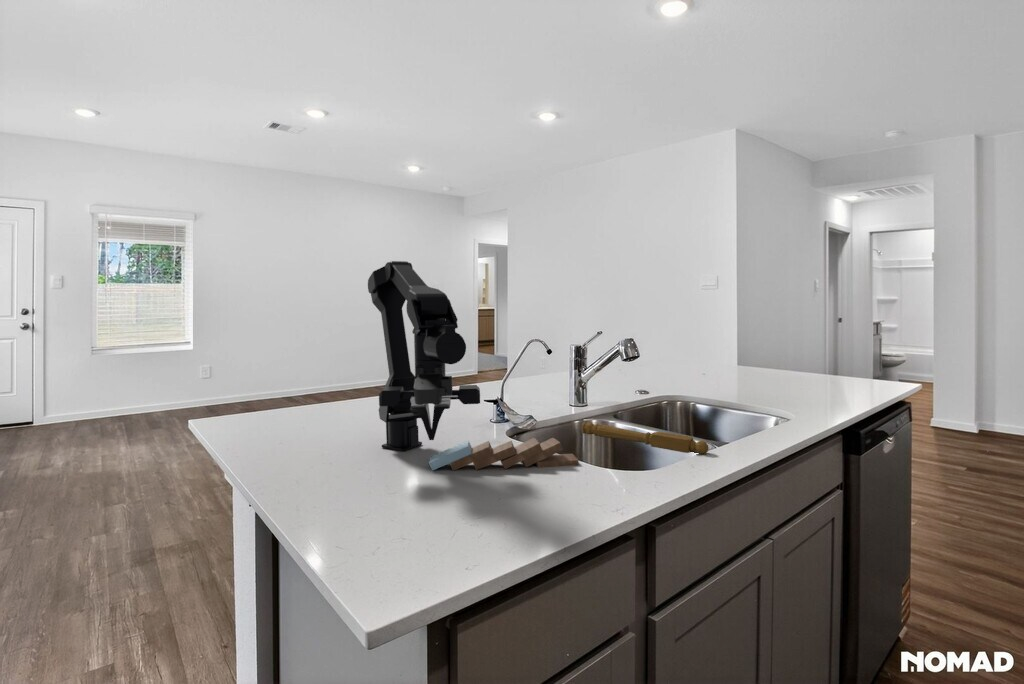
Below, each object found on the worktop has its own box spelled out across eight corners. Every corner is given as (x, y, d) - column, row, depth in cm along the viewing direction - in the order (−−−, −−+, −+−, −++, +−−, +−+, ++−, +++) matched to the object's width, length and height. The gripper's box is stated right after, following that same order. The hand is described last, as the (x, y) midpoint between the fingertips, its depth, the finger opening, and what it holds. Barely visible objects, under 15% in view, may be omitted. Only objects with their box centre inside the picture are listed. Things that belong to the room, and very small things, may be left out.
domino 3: (472, 462, 106) (512, 446, 106) (473, 455, 111) (511, 440, 110) (476, 470, 106) (515, 454, 106) (476, 463, 111) (514, 447, 111)
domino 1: (428, 463, 106) (467, 446, 106) (431, 456, 110) (468, 440, 110) (432, 470, 106) (471, 453, 106) (434, 463, 110) (471, 447, 110)
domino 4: (501, 461, 106) (539, 443, 107) (497, 455, 110) (534, 437, 112) (505, 469, 106) (542, 450, 107) (501, 462, 111) (537, 444, 112)
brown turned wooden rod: (587, 420, 135) (710, 439, 116) (587, 432, 136) (710, 454, 116) (580, 422, 133) (705, 442, 114) (580, 435, 133) (704, 457, 114)
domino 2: (449, 463, 106) (488, 446, 106) (451, 456, 110) (488, 440, 110) (453, 470, 106) (492, 454, 106) (454, 463, 110) (491, 448, 111)
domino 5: (523, 459, 107) (560, 442, 109) (517, 454, 111) (553, 437, 113) (526, 467, 107) (563, 449, 109) (520, 461, 112) (555, 444, 113)
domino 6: (537, 462, 108) (578, 460, 109) (533, 455, 112) (572, 453, 113) (537, 470, 108) (578, 468, 109) (533, 463, 112) (572, 461, 113)
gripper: (372, 365, 97) (375, 453, 99) (480, 363, 99) (481, 449, 100) (382, 357, 109) (384, 437, 110) (478, 356, 110) (480, 434, 111)
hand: (431, 439), depth 108 cm, fingers closed
